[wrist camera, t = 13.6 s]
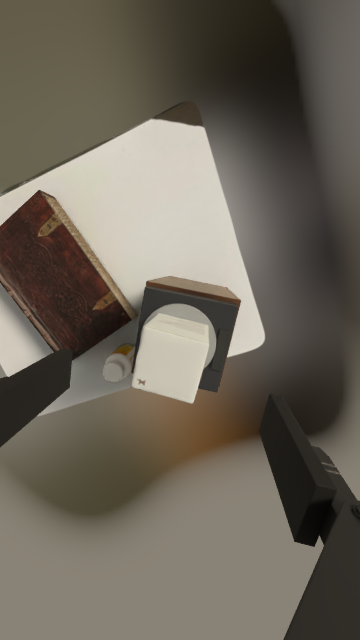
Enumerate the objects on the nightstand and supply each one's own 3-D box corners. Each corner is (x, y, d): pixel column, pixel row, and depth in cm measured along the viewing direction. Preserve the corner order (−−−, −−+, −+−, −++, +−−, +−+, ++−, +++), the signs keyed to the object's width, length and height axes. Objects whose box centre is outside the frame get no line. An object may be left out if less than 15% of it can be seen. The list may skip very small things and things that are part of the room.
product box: (196, 372, 29) (192, 406, 22) (147, 359, 29) (128, 388, 22) (209, 324, 27) (210, 343, 20) (158, 310, 28) (141, 325, 21)
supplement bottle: (112, 353, 55) (92, 371, 45) (128, 338, 54) (111, 353, 44) (128, 370, 55) (112, 391, 46) (145, 356, 54) (132, 374, 45)
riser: (227, 287, 49) (241, 300, 30) (214, 342, 52) (219, 387, 32) (169, 275, 50) (146, 280, 30) (159, 330, 52) (132, 367, 33)
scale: (236, 303, 30) (239, 307, 27) (216, 383, 32) (217, 395, 29) (149, 285, 30) (143, 287, 27) (136, 365, 33) (129, 375, 30)
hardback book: (-7, 252, 53) (-28, 250, 48) (55, 197, 49) (39, 189, 44) (74, 358, 56) (62, 367, 51) (138, 315, 52) (131, 320, 47)
